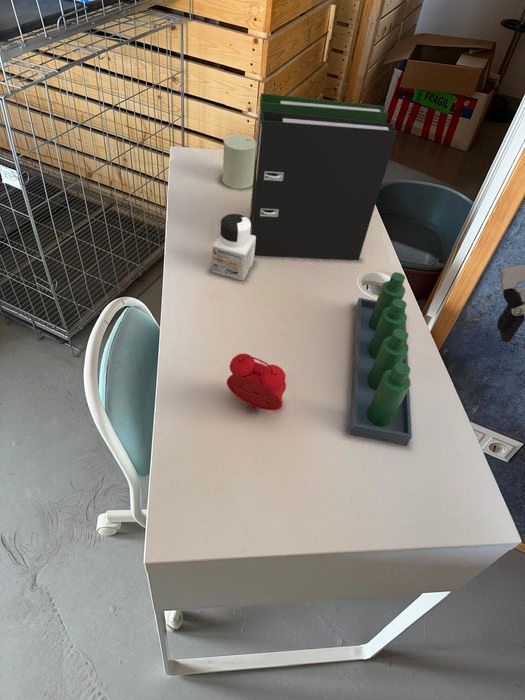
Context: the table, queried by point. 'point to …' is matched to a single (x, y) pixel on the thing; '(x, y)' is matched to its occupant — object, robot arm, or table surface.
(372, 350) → the bottle
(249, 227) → the container
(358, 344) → the tray
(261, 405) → the alarm clock
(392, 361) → the bottle
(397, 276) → the bottle
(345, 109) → the binder
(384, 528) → the table surface
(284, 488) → the table surface
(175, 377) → the table surface
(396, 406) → the loose bottle
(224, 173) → the can
